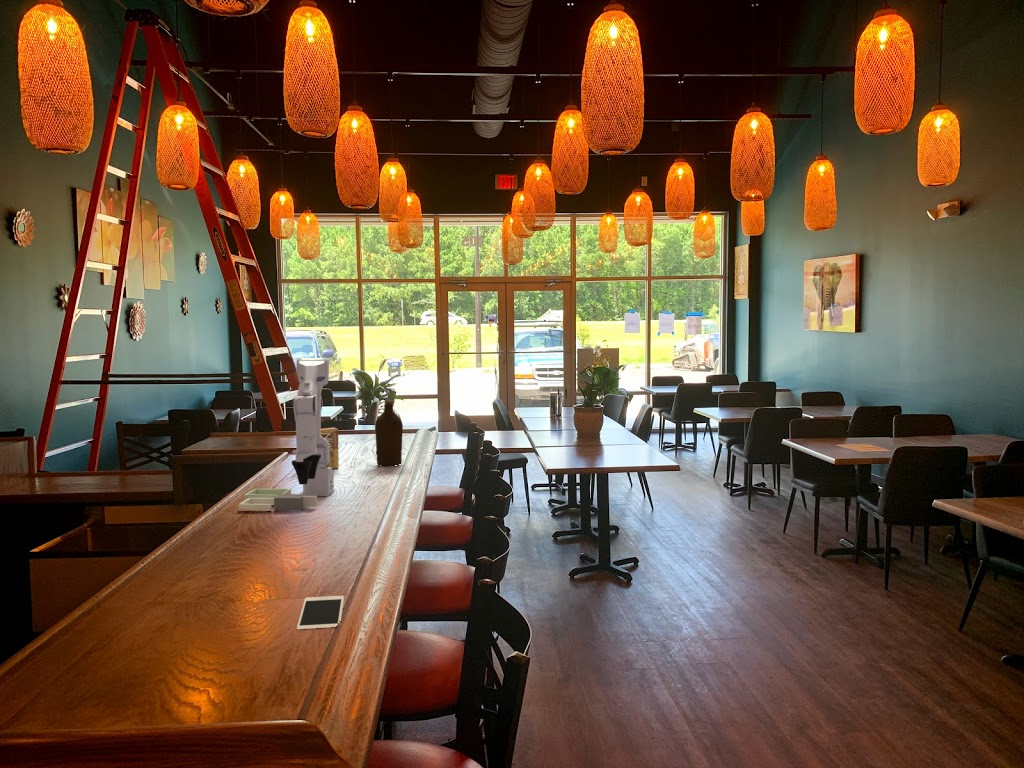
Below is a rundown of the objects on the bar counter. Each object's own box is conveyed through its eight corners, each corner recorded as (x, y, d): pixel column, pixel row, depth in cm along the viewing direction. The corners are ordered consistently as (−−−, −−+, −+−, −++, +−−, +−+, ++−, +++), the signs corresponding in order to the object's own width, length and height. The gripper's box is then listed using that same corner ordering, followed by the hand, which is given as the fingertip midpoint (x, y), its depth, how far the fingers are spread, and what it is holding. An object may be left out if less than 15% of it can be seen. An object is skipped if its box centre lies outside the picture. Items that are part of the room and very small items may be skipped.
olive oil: (407, 463, 301) (407, 400, 299) (394, 468, 291) (394, 402, 289) (384, 461, 305) (383, 399, 303) (370, 466, 295) (369, 401, 293)
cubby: (280, 505, 233) (280, 498, 233) (271, 512, 225) (270, 504, 225) (249, 504, 234) (249, 497, 234) (238, 511, 226) (238, 504, 226)
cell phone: (344, 598, 157) (344, 595, 157) (339, 629, 142) (339, 626, 142) (305, 600, 156) (305, 597, 156) (296, 632, 140) (296, 628, 140)
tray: (291, 496, 245) (290, 488, 244) (281, 503, 236) (281, 495, 236) (255, 496, 245) (254, 488, 245) (244, 502, 237) (244, 494, 236)
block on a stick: (318, 507, 232) (318, 494, 232) (314, 511, 227) (314, 498, 227) (279, 507, 232) (279, 494, 232) (274, 511, 227) (273, 497, 227)
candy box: (334, 466, 294) (333, 427, 292) (339, 468, 290) (338, 428, 289) (312, 469, 288) (311, 429, 287) (317, 471, 285) (316, 430, 283)
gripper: (300, 432, 234) (301, 476, 236) (284, 440, 220) (285, 486, 221) (323, 432, 234) (324, 476, 235) (309, 440, 220) (310, 486, 221)
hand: (307, 481), depth 228 cm, fingers open, 7 cm apart
